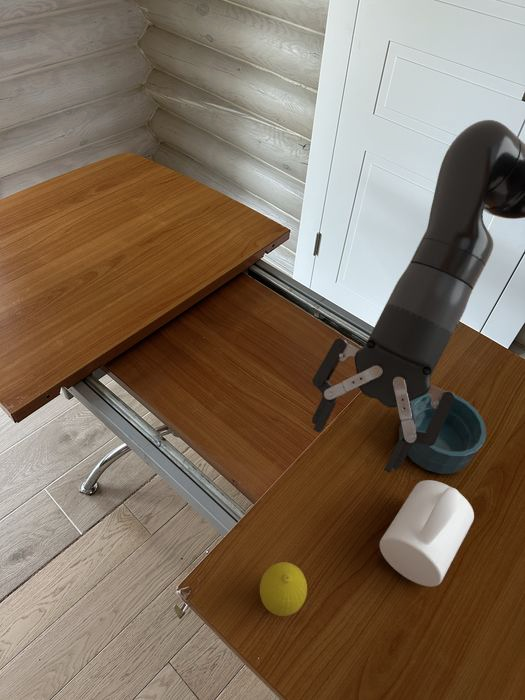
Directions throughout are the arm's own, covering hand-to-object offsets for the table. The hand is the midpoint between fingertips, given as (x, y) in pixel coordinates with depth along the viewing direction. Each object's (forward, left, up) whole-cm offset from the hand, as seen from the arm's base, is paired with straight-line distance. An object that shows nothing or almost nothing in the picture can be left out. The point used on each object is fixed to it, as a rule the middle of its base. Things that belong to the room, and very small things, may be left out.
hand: (351, 449), depth 56 cm
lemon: (-3, +11, -19) cm, 23 cm away
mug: (-10, -8, -19) cm, 23 cm away
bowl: (-2, -23, -19) cm, 30 cm away
